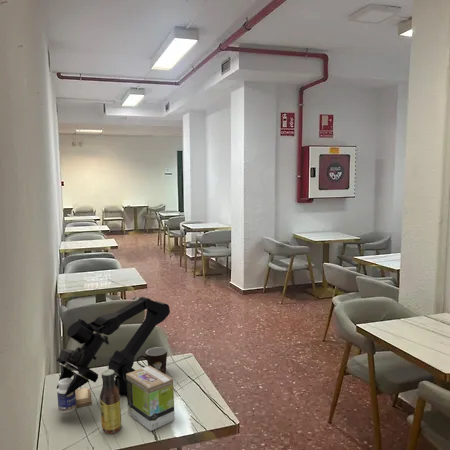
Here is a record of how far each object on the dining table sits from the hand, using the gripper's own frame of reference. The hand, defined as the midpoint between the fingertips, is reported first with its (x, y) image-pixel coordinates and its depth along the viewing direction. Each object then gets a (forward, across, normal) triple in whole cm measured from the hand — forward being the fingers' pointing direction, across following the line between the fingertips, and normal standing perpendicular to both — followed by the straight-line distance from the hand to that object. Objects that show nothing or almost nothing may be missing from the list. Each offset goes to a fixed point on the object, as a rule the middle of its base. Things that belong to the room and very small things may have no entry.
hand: (62, 391), depth 147 cm
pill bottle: (+4, 0, +6) cm, 7 cm away
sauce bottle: (+2, +18, +12) cm, 22 cm away
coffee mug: (-21, -3, +36) cm, 42 cm away
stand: (+1, -8, +14) cm, 16 cm away
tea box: (-7, +21, +22) cm, 31 cm away
